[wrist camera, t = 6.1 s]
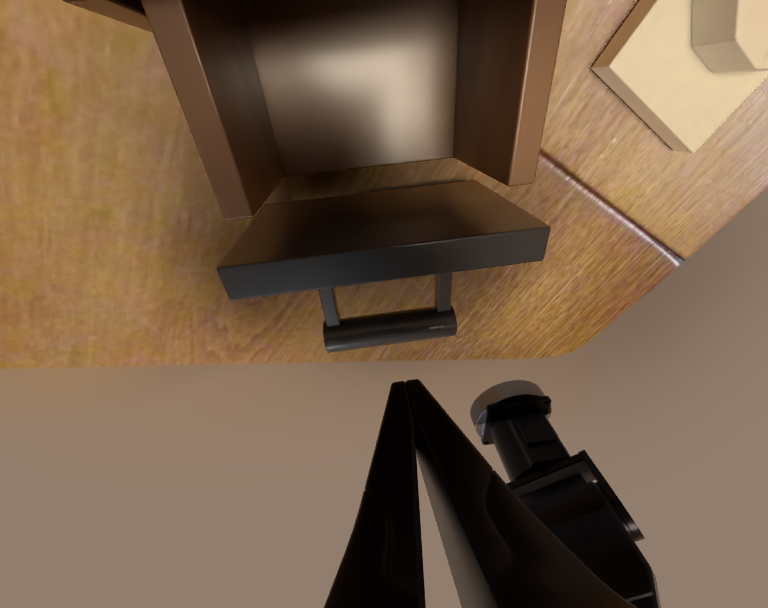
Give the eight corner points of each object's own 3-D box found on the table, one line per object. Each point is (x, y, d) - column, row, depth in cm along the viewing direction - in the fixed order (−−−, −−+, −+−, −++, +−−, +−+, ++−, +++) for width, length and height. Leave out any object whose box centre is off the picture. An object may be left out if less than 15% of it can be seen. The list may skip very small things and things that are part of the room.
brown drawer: (467, 283, 19) (520, 362, 13) (294, 305, 18) (272, 397, 12) (506, -231, 9) (788, -803, 3) (140, -208, 8) (-267, -820, 3)
